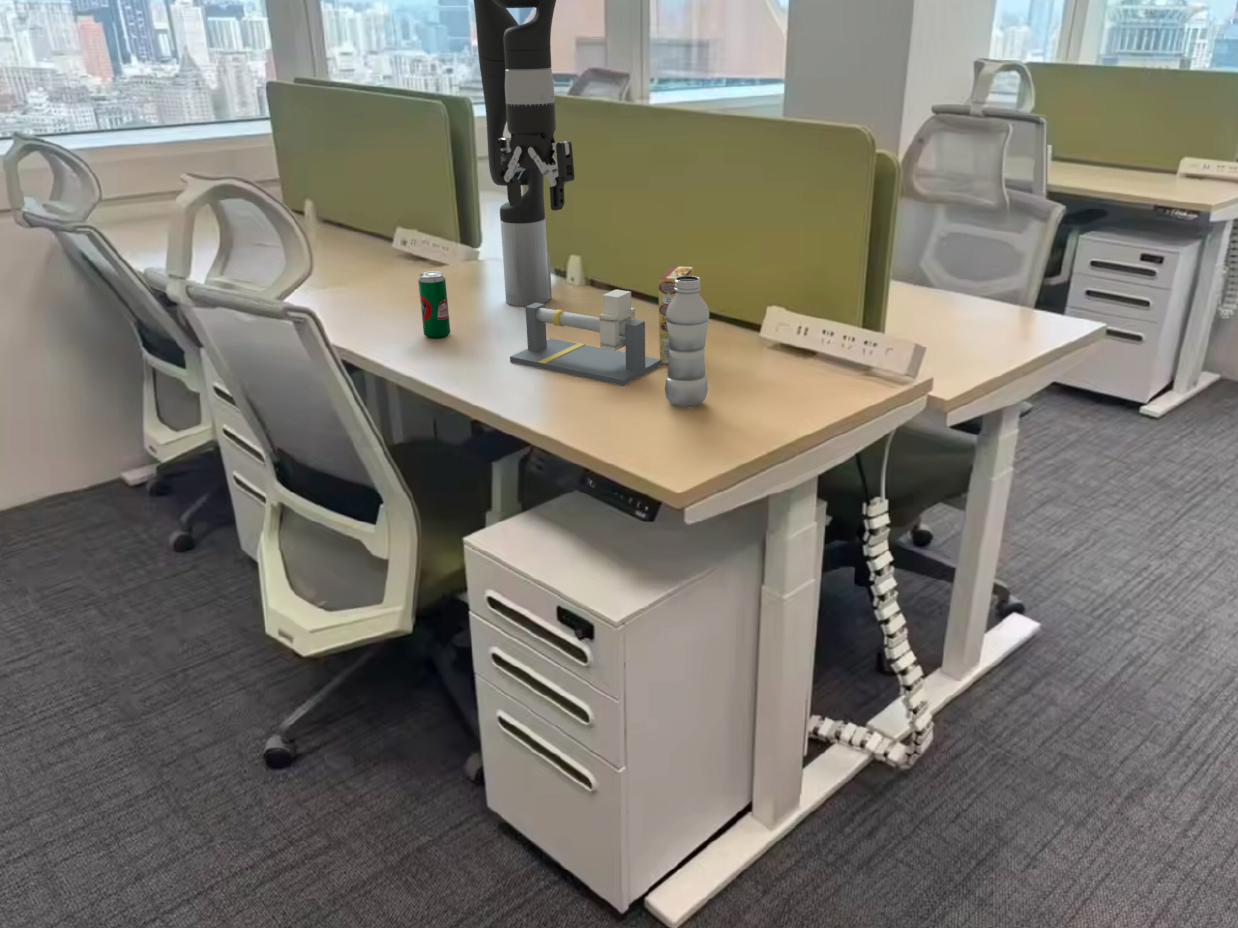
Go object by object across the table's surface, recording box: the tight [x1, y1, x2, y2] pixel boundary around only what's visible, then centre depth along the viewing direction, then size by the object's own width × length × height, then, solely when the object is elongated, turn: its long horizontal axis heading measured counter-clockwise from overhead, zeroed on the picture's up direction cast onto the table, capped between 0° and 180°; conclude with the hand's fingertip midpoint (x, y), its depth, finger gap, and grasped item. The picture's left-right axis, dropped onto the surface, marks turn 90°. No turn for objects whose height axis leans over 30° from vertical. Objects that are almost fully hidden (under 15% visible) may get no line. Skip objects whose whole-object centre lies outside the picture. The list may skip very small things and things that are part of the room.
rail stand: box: [509, 303, 662, 387], centre depth 174 cm, size 12×24×9 cm, turn 57°
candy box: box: [657, 265, 694, 365], centre depth 175 cm, size 9×4×15 cm, turn 162°
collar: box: [599, 288, 636, 351], centre depth 168 cm, size 6×3×9 cm, turn 147°
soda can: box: [417, 270, 451, 340], centre depth 190 cm, size 5×5×12 cm
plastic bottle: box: [664, 275, 710, 408], centre depth 153 cm, size 6×7×20 cm
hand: (536, 207), depth 160 cm, fingers open, 8 cm apart
